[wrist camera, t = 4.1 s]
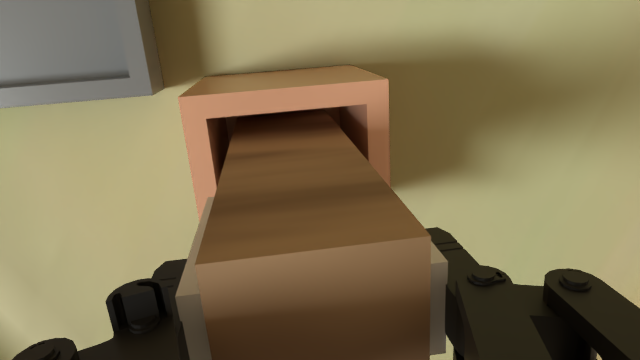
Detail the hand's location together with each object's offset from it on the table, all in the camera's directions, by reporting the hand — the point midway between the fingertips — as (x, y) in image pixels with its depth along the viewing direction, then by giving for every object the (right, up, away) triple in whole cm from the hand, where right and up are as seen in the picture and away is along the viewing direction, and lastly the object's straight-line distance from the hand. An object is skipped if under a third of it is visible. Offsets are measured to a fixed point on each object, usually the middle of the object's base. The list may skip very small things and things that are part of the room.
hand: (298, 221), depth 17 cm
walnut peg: (-1, +3, +9) cm, 10 cm away
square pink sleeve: (-1, +4, +12) cm, 13 cm away
